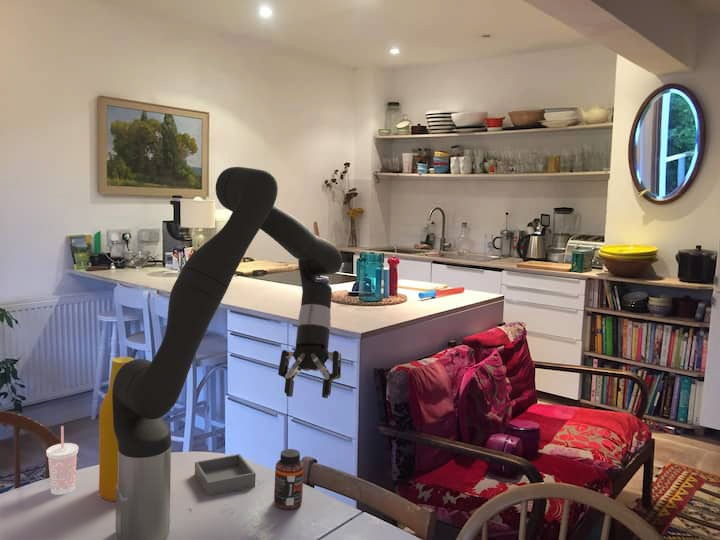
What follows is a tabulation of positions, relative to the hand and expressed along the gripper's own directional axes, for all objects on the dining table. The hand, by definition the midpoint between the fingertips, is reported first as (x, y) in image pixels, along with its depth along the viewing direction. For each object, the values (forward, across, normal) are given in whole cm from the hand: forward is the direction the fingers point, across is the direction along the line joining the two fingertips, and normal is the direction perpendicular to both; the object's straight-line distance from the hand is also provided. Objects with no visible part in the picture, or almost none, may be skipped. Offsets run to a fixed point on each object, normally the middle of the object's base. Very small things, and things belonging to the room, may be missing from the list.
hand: (307, 397), depth 134 cm
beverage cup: (+23, -48, -14) cm, 55 cm away
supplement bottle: (+22, -2, 0) cm, 23 cm away
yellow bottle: (+23, -36, -10) cm, 44 cm away
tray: (+19, -19, +2) cm, 27 cm away
